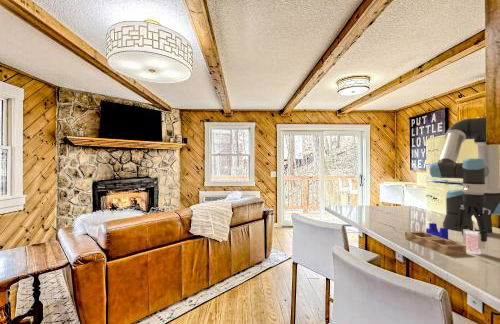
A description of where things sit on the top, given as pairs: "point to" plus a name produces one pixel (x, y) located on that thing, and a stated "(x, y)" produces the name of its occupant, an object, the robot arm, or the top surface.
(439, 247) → the wooden holder tray
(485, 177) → the robot arm
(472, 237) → the beverage cup
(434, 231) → the blue notched block
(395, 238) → the top surface
